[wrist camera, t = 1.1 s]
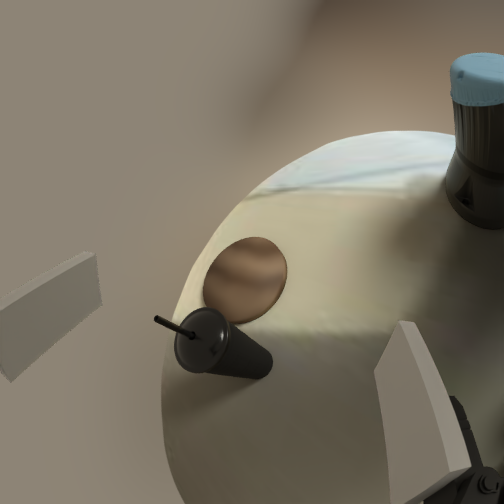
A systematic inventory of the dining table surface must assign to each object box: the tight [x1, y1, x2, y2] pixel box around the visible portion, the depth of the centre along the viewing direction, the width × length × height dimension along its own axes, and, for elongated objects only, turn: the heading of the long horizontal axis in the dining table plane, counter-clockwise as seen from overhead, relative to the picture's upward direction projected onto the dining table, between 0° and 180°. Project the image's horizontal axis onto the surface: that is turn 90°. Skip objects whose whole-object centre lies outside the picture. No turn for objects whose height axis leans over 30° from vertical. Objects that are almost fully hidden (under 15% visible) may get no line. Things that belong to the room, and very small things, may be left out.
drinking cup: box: [154, 307, 273, 379], centre depth 31 cm, size 8×8×20 cm
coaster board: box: [203, 237, 287, 324], centre depth 47 cm, size 16×16×2 cm
